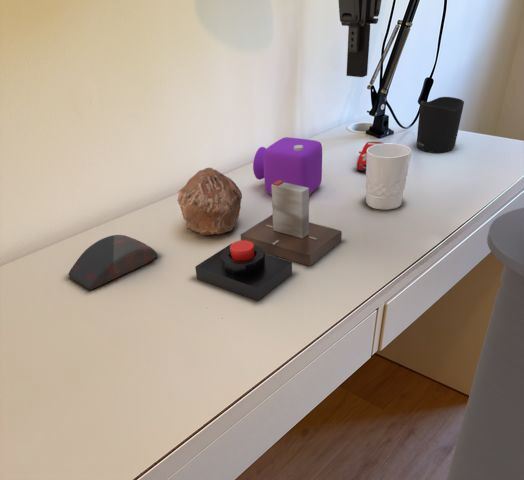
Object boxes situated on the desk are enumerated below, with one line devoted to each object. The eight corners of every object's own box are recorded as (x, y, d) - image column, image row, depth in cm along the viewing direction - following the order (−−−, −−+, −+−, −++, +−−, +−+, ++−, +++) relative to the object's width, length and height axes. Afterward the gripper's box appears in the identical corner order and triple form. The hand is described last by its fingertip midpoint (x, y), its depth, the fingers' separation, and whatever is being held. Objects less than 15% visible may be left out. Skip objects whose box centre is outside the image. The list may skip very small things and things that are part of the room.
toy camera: (262, 178, 115) (260, 130, 108) (324, 182, 111) (325, 133, 105) (246, 197, 107) (243, 147, 100) (312, 203, 103) (312, 151, 97)
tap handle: (309, 234, 88) (309, 186, 83) (302, 238, 87) (302, 190, 82) (279, 226, 91) (278, 179, 86) (273, 230, 90) (271, 183, 85)
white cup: (376, 214, 97) (381, 160, 91) (355, 199, 103) (358, 147, 97) (413, 206, 100) (420, 152, 93) (389, 191, 105) (395, 140, 99)
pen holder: (416, 140, 129) (422, 96, 123) (456, 141, 127) (464, 97, 121) (412, 152, 123) (418, 106, 116) (455, 154, 120) (463, 108, 114)
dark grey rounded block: (163, 259, 88) (159, 237, 86) (92, 293, 81) (85, 270, 78) (135, 245, 93) (130, 224, 90) (66, 276, 85) (58, 254, 83)
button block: (292, 274, 82) (292, 251, 80) (257, 301, 77) (256, 277, 74) (232, 255, 88) (230, 233, 86) (196, 278, 83) (193, 256, 80)
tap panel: (341, 241, 90) (342, 229, 89) (309, 266, 84) (309, 254, 82) (275, 223, 97) (274, 212, 96) (240, 245, 91) (239, 233, 89)
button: (259, 254, 80) (258, 243, 79) (244, 264, 78) (244, 253, 77) (240, 248, 82) (240, 238, 81) (226, 258, 80) (225, 247, 79)
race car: (379, 175, 113) (381, 156, 110) (354, 173, 114) (355, 155, 112) (387, 154, 122) (389, 136, 120) (364, 153, 124) (365, 135, 121)
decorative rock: (192, 211, 103) (185, 159, 97) (249, 212, 101) (245, 160, 95) (173, 242, 93) (164, 187, 87) (235, 244, 91) (230, 188, 85)
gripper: (366, -132, 70) (355, 65, 85) (314, -136, 63) (312, 82, 77) (419, -138, 67) (398, 68, 82) (371, -143, 59) (358, 87, 74)
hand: (356, 75), depth 79 cm, fingers closed
